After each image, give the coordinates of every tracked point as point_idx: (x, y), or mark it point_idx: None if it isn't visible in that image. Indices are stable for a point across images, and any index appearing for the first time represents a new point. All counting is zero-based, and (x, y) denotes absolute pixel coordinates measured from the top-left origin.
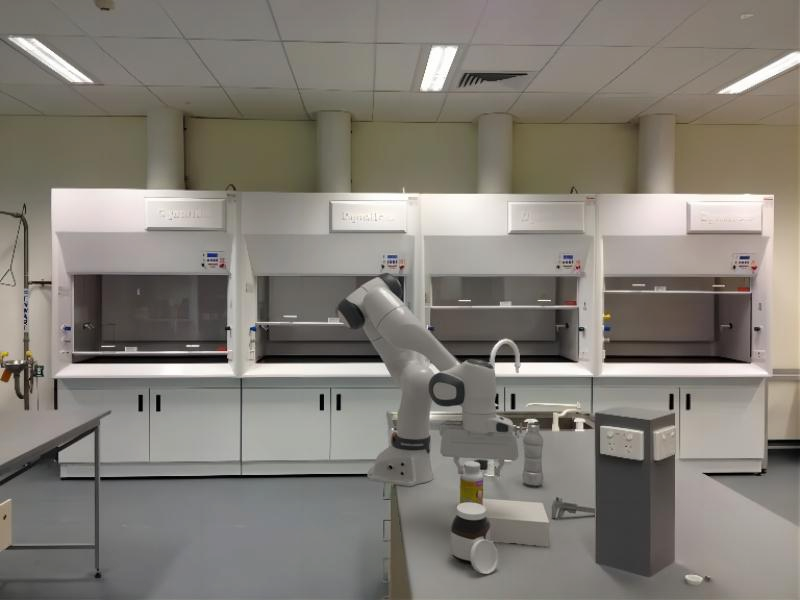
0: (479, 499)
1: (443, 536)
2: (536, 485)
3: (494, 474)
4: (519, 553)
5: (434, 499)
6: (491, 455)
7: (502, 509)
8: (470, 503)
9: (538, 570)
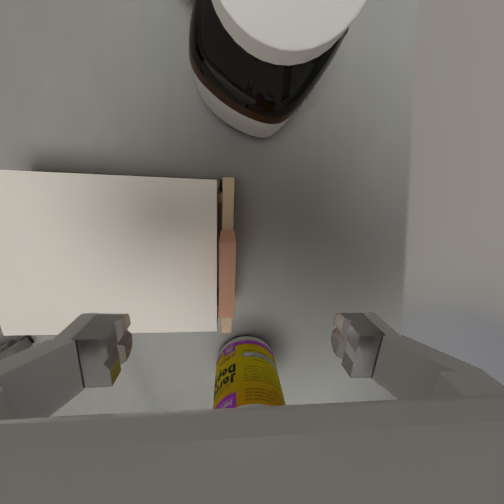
0: (230, 241)
1: (322, 193)
2: None
3: (121, 317)
4: (117, 119)
5: (329, 380)
6: (4, 479)
7: (146, 257)
8: (293, 29)
9: (54, 9)
